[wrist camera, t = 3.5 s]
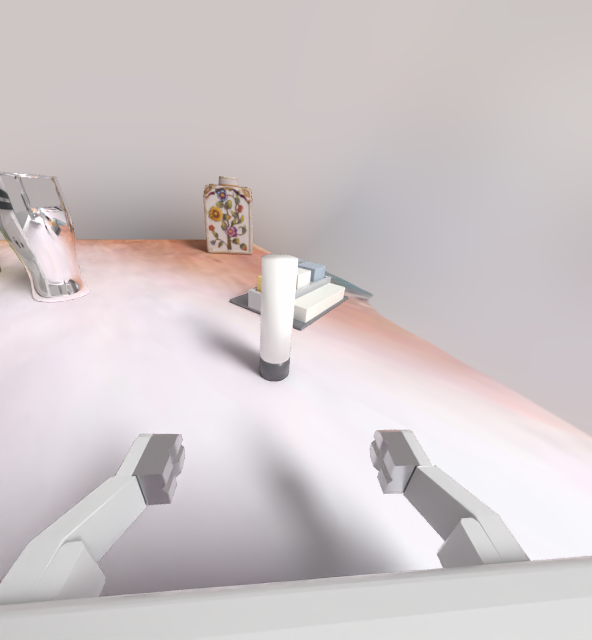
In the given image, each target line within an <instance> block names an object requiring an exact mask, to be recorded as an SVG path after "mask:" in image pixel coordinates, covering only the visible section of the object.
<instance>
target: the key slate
mask: <svg viewBox="0 0 592 640" xmlns="http://www.w3.org/2000/svg"><path fill="white" fill-rule="evenodd" d="M298 268H302V269H306V270H310V271H311V277H310V281H311V282H316V281H318V280H321V279H323V278H324V274H325V266H324V265H321V264H316V263H312V262H304V263H301V264H298Z"/></svg>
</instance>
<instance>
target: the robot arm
mask: <svg viewBox="0 0 592 640" xmlns="http://www.w3.org/2000/svg"><path fill="white" fill-rule="evenodd" d="M374 438H375V440H374V441H373V442H372V443H371V446H370V457H371V461H372V464H373V466H374V467H375V468H376V469H377V470H378V471H379V472H378V476H377V478H378V480H379V483H380V486H381V488H382V491H383V494H392V493H404V494H403V495H404V496H405V497H406V498H407V499H408V500H409V502H410V503H411V504H412V505H413V506H414V507H415V508H416V509H417V511H418V512H419V513H420V514H421V515H422V516H423V517H424V518H425V519H426V521H427V522H428V523H429V524H430V525H431V526H432V527H433V528H434V530H435V531H436V532H437V533H438V534H439V535H440V536H441V537H442V539H443V540H444V541H445V542H444V543H443V544H442V546H441V547H440V549H439V550H438V553H437V556H438V558H439V560H440V562H441V565H442V567H443V568H438V569H426V570H414V571H402V572H390V573H378V574H366V575H354V576H342V577H331V578H319V579H307V580H295V581H283V582H271V583H259V584H247V585H235V586H223V587H211V588H199V589H187V590H175V591H163V592H151V593H139V594H127V595H115V596H103V597H99V596H100V593H101V591H102V589H103V586H104V584H105V581H106V578H105V575H104V574H103V572H102V571H101V569H100V568H99V566H98V565H97V563H98V562H99V561H100V559H101V558H102V557H103V556H104V555H105V554H106V553H107V551H108V550H109V549H110V548H111V547H112V546H113V545H114V543H115V542H116V541H117V540H118V539H119V538H120V537H121V535H122V534H123V533H124V532H125V531H126V530H127V529H128V527H129V526H130V525H131V524H132V523H133V522H134V521H135V519H136V518H137V517H138V516H139V515H140V514H141V513H142V511H143V510H144V509H145V508H146V505H157V504H170V503H171V501H172V498H173V495H174V492H175V489H176V486H177V482H176V477H177V476H178V475H179V474H180V473H181V471H182V468H183V464H184V459H185V449H184V447H183V446H182V445H181V443H182V440H183V439H182V435H181V434H140V435H139V436H138V437H137V438H136V440H135V441H134V443H133V445H132V447H131V448H130V450H129V452H128V454H127V456H126V457H125V459H124V461H123V463H122V465H121V466H120V468H119V470H118V472H117V473H116V475H115V476H114V477H109V478H108V479H107V480H106V481H105V482H103V483H102V484H101V485H100V486H98V487H97V488H96V489H95V490H93V491H92V492H91V493H90V494H88V495H87V496H86V497H85V498H83V499H82V500H81V501H80V502H78V503H77V504H76V505H75V506H73V507H72V508H71V509H70V510H69V511H67V512H66V513H65V514H64V515H62V516H61V517H60V518H59V519H57V520H56V521H55V522H54V523H52V524H51V525H50V526H49V527H47V528H46V529H45V530H44V531H42V532H41V533H40V534H39V535H37V536H36V537H35V538H34V539H33V540H31V541H30V542H29V543H28V544H27V546H26V547H25V549H24V550H23V551H22V553H21V554H20V556H19V557H18V559H17V560H16V561H15V563H14V564H13V566H12V567H11V569H10V570H9V571H8V573H7V574H6V576H5V577H4V579H3V580H2V581H1V583H0V640H592V556H582V557H570V558H558V559H546V560H534V561H530V559H529V558H528V557H527V555H526V554H525V552H524V551H523V549H522V548H521V546H520V545H519V544H518V542H517V541H516V539H515V538H514V536H513V535H512V534H511V532H510V531H509V529H508V528H507V526H506V525H505V524H504V522H503V521H502V519H501V518H500V516H499V515H498V514H496V513H495V512H494V511H493V510H491V509H490V508H489V507H488V506H486V505H485V504H484V503H483V502H481V501H480V500H479V499H478V498H476V497H475V496H474V495H472V494H471V493H470V492H469V491H467V490H466V489H465V488H464V487H462V486H461V485H460V484H459V483H457V482H456V481H455V480H453V479H452V478H451V477H450V476H448V475H447V474H446V473H445V472H443V471H442V470H441V469H440V468H438V467H437V466H433V465H432V464H431V462H430V460H429V459H428V457H427V455H426V454H425V452H424V450H423V449H422V447H421V445H420V444H419V442H418V440H417V438H416V437H415V435H414V433H413V432H412V431H411V430H377V431H376V432H375V433H374Z"/></svg>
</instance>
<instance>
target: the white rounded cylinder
mask: <svg viewBox="0 0 592 640" xmlns="http://www.w3.org/2000/svg"><path fill="white" fill-rule="evenodd" d="M297 268H298V259H297V258H296V257H293V256H289V255H282V254H268V255H264V256H262V274H261V332H260V375H261V376H262V377H263V378H264V379H266V380H269V381H280V380H283V379H285V378H286V377H287V376H288V374H289V363H290V351H291V339H292V327H293V316H294V304H295V292H296V280H297Z"/></svg>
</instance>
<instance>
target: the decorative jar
mask: <svg viewBox="0 0 592 640" xmlns="http://www.w3.org/2000/svg"><path fill="white" fill-rule="evenodd" d="M203 198H204V210H205V211H204V212H205V225H206V240H207V250H208V252H209V253H219V254H246V255H252V195H251V189H250V188H247V187H238V179H237V178H231V177H222V176H219V185H213V184H209V185H205V190H204V195H203Z"/></svg>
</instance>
